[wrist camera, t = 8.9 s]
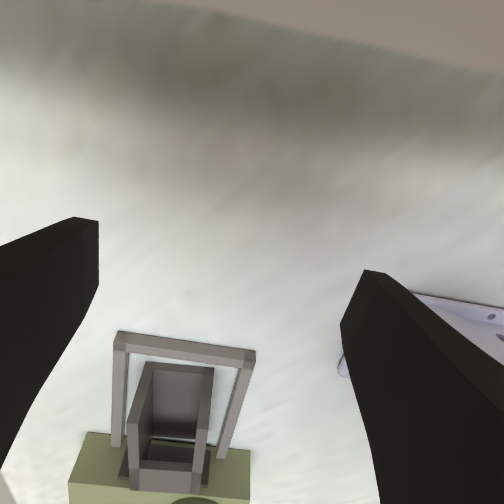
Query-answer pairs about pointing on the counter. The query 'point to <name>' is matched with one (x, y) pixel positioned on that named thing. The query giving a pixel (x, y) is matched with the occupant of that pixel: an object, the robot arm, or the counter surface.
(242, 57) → the counter surface
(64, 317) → the robot arm
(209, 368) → the chute
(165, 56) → the counter surface
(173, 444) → the grey frame stand
